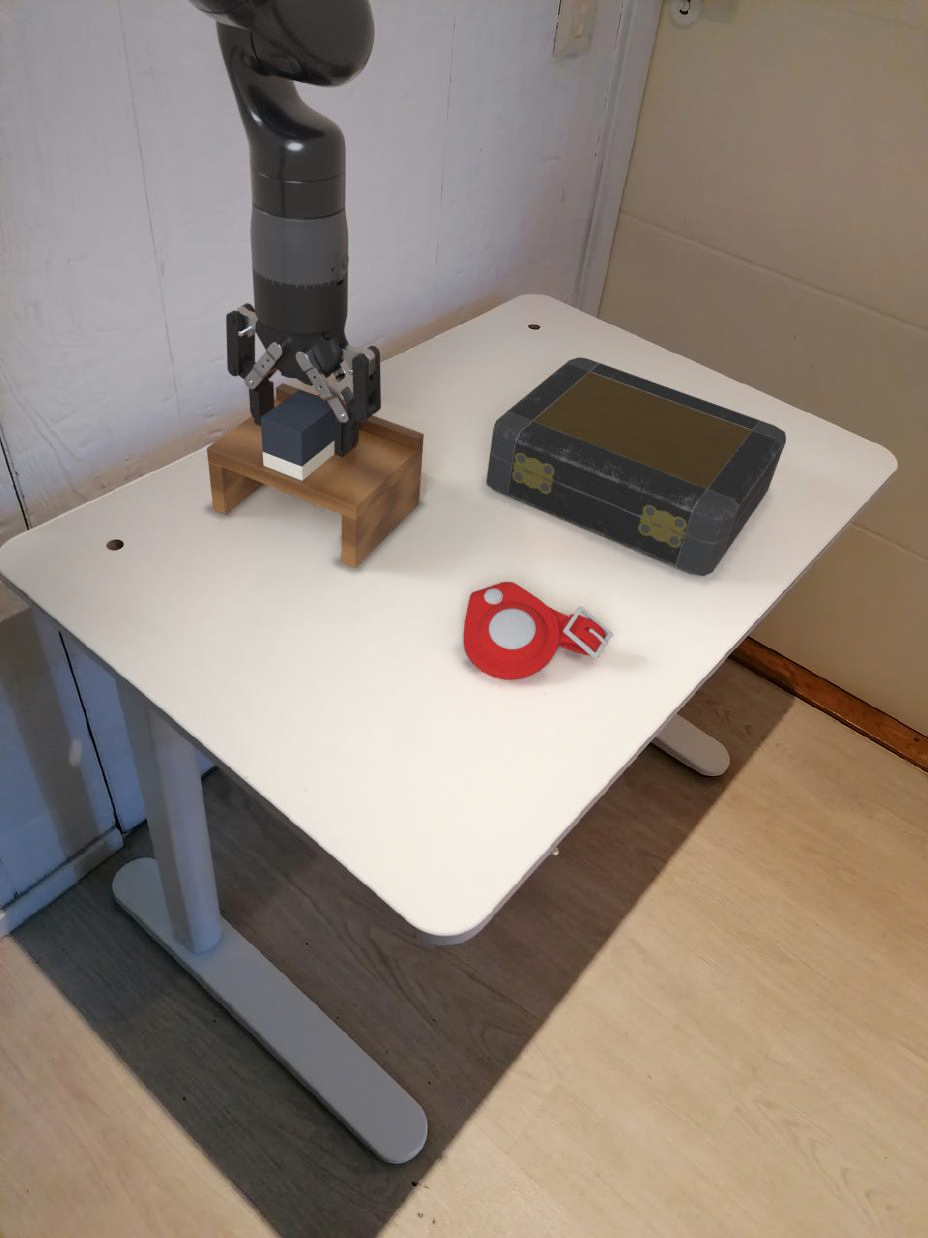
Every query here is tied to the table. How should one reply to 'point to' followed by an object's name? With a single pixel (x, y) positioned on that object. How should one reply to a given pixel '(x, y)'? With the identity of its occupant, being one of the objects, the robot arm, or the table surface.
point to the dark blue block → (298, 435)
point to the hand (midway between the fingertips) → (304, 437)
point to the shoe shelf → (330, 478)
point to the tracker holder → (524, 632)
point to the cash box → (635, 462)
